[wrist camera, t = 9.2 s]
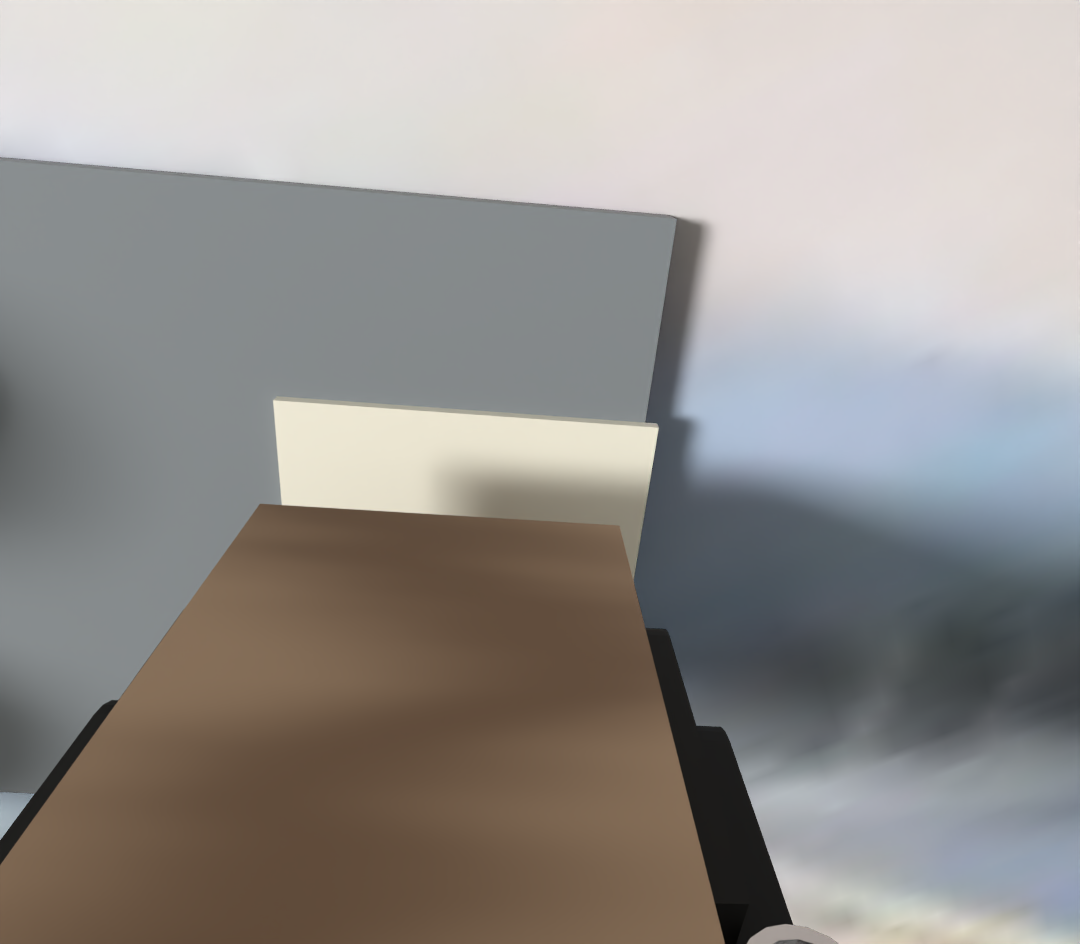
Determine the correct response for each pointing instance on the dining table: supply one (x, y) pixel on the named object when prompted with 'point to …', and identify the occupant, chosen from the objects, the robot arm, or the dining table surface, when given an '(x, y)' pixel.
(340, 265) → the mat
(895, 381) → the dining table surface
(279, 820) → the walnut block
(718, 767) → the robot arm
